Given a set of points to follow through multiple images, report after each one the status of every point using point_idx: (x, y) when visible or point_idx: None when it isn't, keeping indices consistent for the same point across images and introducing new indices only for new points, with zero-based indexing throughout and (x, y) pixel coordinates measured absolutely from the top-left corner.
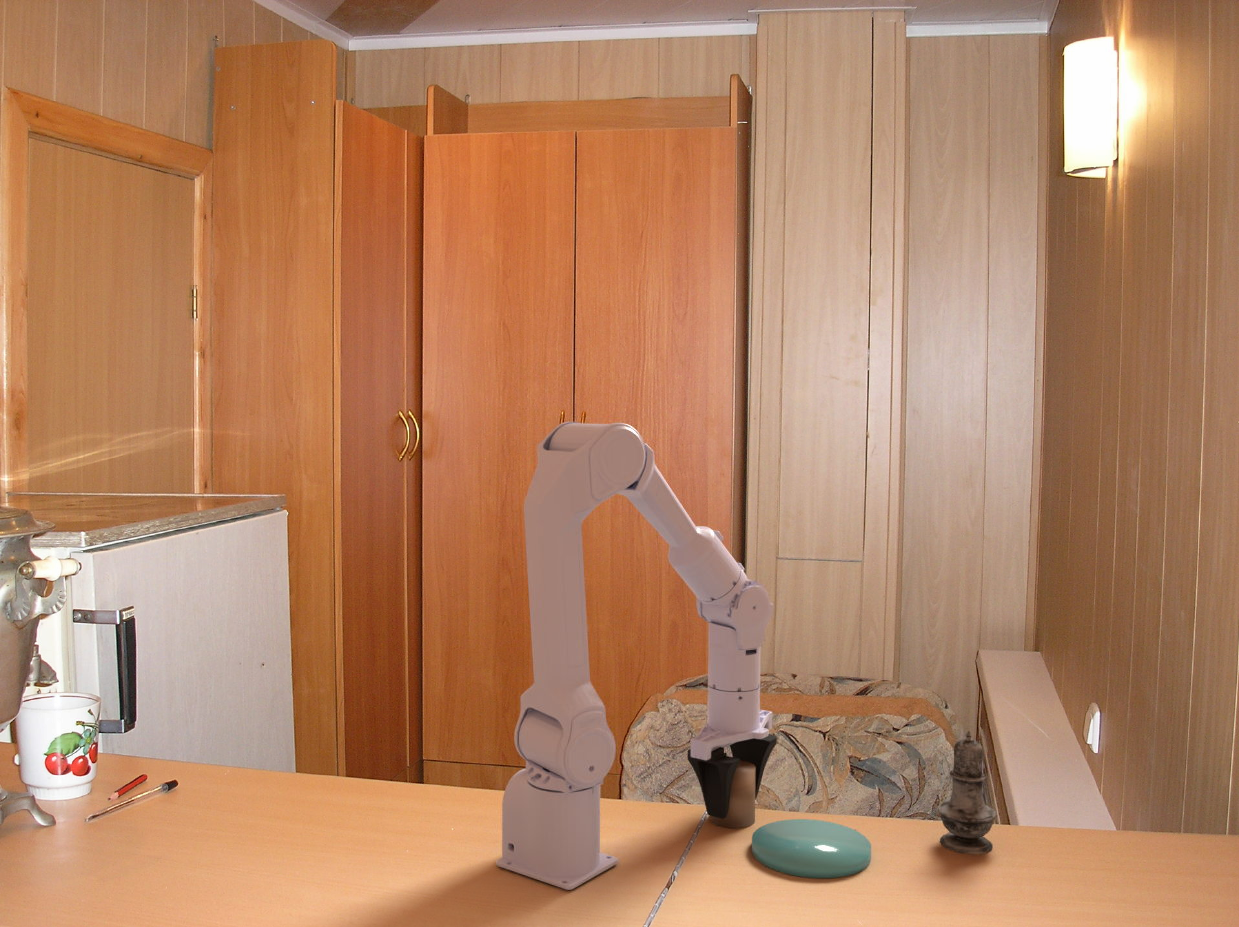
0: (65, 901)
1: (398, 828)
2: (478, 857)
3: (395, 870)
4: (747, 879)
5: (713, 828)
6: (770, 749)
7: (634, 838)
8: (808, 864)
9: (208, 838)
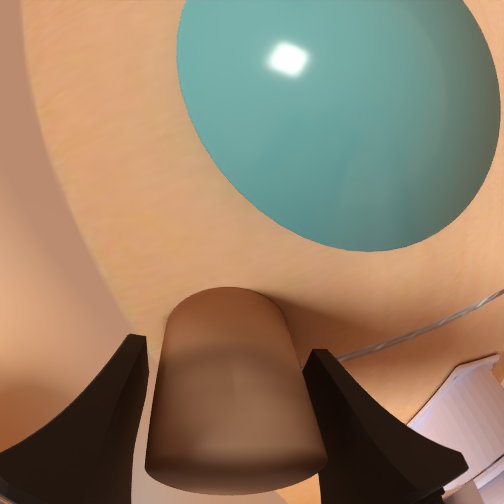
0: None
1: None
2: None
3: None
4: (501, 195)
5: (302, 347)
6: (40, 461)
7: (379, 400)
8: (494, 80)
9: None
